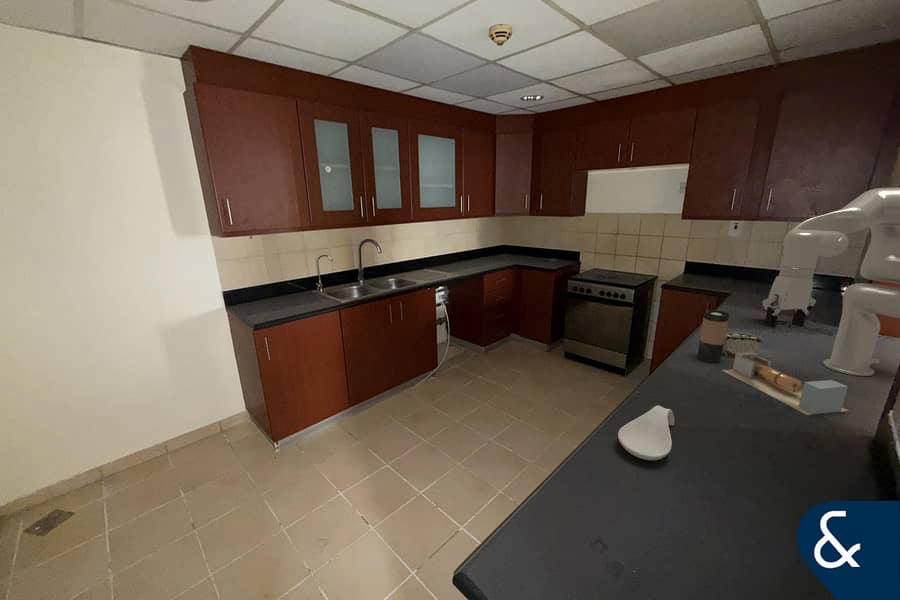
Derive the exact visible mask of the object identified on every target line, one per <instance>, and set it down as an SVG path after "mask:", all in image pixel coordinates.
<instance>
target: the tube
mask: <svg viewBox="0 0 900 600" xmlns="http://www.w3.org/2000/svg"><path fill="white" fill-rule="evenodd" d="M745 358H746V359H749V360H751V361H753V362H755V363H756V367H755V371H754V373H755V374H757V375H759V376H761V377H763V378H765V379H767V380H769V381H771V382H774V383H775V384H777V385H779V386H782V387H784V388H786V389H788V390H790V391H792V392H795V393H796V392H799V391H800V390H801V389H803V387H804V382H803V381H801V380H799V379H798V378H795V377H794V376H791V375H789V374H787V373H784V372H781V371H779V370H777V369H774V368H772V367H771V366H770V367H768V366H766V365H764V364H761V363H759V362H757V361H755V360H752V359H750V358H748V357H745Z"/></svg>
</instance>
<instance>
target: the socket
mask: <svg viewBox="0 0 900 600" xmlns="http://www.w3.org/2000/svg"><path fill="white" fill-rule="evenodd" d="M848 387H849V386H848V385H845V384H843V383H841V382H838V381H835V380H834V379H829V380H816V381H815V380H813V381H804V382H803V388H802V389H803V391H802V395H801V399H800V403H799V407H800V408H802V409H804V410H806V411H808V412H810V413H812V414H811V415H819V413H821V414H830V412H832V413H838V412H839V413H840V412H841V409H842V407H843V404H844V401H845V400H846V399H845V398H846V394H847V391H848Z"/></svg>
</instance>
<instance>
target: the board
mask: <svg viewBox="0 0 900 600" xmlns="http://www.w3.org/2000/svg"><path fill="white" fill-rule="evenodd" d="M722 372H724V373H726V374H728V375H730V376H732V377H734V378H736V379H738V380H739V381H742V382H744V383H746V384H747V385H749V386H751V387H752V388H755V389H757V390H758V391H760V392H763V393H765V394H766V395H769V396H770V397H772V398H774V399H776V400H778V401H779V402H781V403H784V404H785V405H787V406H789V407H791V408H793V409H795V410H797V411H798V412H801V413H802V414H803V415H807V416H808V415H813V414H812V413H810V412H808V411H806V410H804V409H802V408H800V407H799V403H800V399H801V395H802V391H803V388H802V389H801V390H800V391H799V392H796V393H795V392H792V391H790V390H788V389H786V388H784V387H782V386H779V385H777V384H775V383H774V382H771V381H769V380H767V379H754V380H750V379H748V378H746V377H744V376H742V375H740V374H738V373H736V372H734V371H733V368H732V369H722ZM841 412H842V413H843V412H850V410H849V409H848V408H845V407H843V406H842V409H841ZM830 413H831V414H832V413H833V412H830ZM830 413H829V414H830ZM819 414H822V413H819ZM819 414H818V415H819Z"/></svg>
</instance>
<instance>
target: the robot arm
mask: <svg viewBox="0 0 900 600" xmlns="http://www.w3.org/2000/svg"><path fill="white" fill-rule="evenodd" d="M868 227H869V230H870V233H871V239H870V243H869V245H868V248H867V251H866V253H865V254H864V255H865V256H864V258H863V261H862V263H861V266H860V271H859V273H860V276H861V277H862V278H865V279H867V280H870V281H871V280H872V281H877V282H878V281H879V282H884V283H891V284H899V285H900V187H879V188H878V187H877V188H873V189H869V190H867V191H864V192H863V193H862V194H860V195H859V196H857V197H856V198H855V199H853V200H852V201H851V202H849V203H848V204H846V205H845V206H843V207H842V208H841V209H839V210H835V211H832V212H827V213H825V214H822V215H818V216H815V217H811V218H809V219H808V218H807V219H805V220H804V221H802V222H800V223H799V224H797V225H796V226H795V227H793V228H792V229H791V230H790V231H788V233H787V234H786V235H785V237H784V239H783V242H782V245H783V248H784V253H783V256H782V260H781V261H782V262H781V266H780V269H779V274H778V275H777V276H775V279H774V281H773V283H772V286H771V287H770V291H769V295H768V298H766V299H764V300H762V302H761V303H762V306H763V310H764V313H765V314H766V315H765V319H764V324H763V325H764V326H766V327H768V328H772V329H775V328H776V326H777V323H778V319H779V316H778V314H779V313H780V312H781V311H782V310H783V311H792V310H795V312H794V313H793V315H792V321H791V325H792V326H796V327H800V328H803V327H804V326H805V321H806V319H807V315H809V314H810V311H811V310H812V309H813V307H814V306H815V304H816V303H817V300H816V299H814V298H813V297H812V293H813V285H814V284H813V283H814V279H813V278H814V275H815V269H816V266H817V263H818V258H819V256H820V257H835V256H839V255H840V254H842V253H844V252H845V251H846V250H847V249H848V246H849V243H850V242H849V241H850V240H849V237H848V236H847V235H849V234H854V233H858V232H861V231H863V230H865V229H867V228H868ZM841 312H842V313H841V317H840V322H839V325H838V329H837V333H836V337H835V340H834V344H833V348H832V351H831V355H830V358H826V359H824V360H823V361H822V362H823V363H822V364H823V365H824V366H825V367H826V368H829V369H831V370H833V371H836V372H840V373H842V374H847V375H851V376H859V377H869V376H873V375H874V374H875V370H874V369H873V368H872V367H871V365H877V364H879V363H880V360H879V359H877V358H872V357H873V352H874V350H875V346H876V343H877V339H878V336H879V333H880V330H881V322H880V320H879V318H878V315H881V316H888V317H893V318H898V319H900V287H894V286H887V285H882V284H875V283H867V282H865V283H863V282H862V283H861V282H860V283H853V284H850V285H849V286H847V287H846V288H845V289H844V291H843V295H842V311H841ZM876 314H878V315H876Z"/></svg>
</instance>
